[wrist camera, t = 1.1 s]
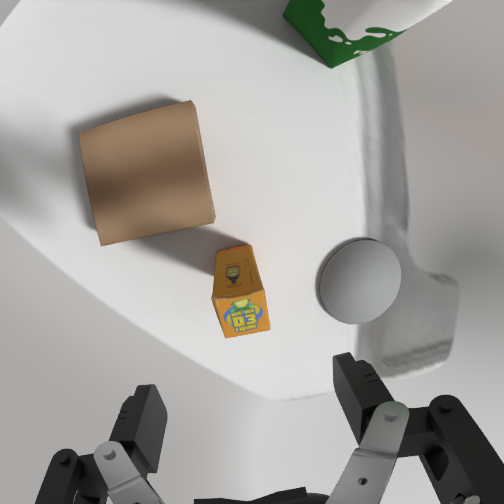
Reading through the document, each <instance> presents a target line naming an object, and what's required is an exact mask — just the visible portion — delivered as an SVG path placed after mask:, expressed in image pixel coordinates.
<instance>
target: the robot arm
mask: <svg viewBox="0 0 504 504" xmlns="http://www.w3.org/2000/svg"><path fill="white" fill-rule="evenodd" d="M333 383H334V389H335V392H336V395H337V397H338V399H339V402H340V404H341V406H342V409H343V411H344V413H345V415H346V418H347V420H348V422H349V424H350V427H351V429H352V431H353V434H354V436H355V438H356V441H357V443H358V445H360V446H359V447H358V449H357V448H356V449H355V450H354V452H353V454H352V455H351V457H350V459H349V461H348V464H347V465H346V467H345V470H344V471H343V474H342V475H341V477H340V479H339V481H338V483H337V484H336V486H335V488H334V490H333V492H332V493H331V495H330V496H328V495H325V494H318V493H307V492H306V488H305V487H301V488H296V489H290V490H285V491H279V492H275V493H273V494H270V495H267V496H264V497H261V498H258V499H255V500H252V501H240V500H231V499H224V498H212V499H194V504H380V502H381V499H382V497H383V494H384V492H385V489H386V486H387V484H388V482H389V479H390V477H391V474H392V471H393V469H394V466H395V463H396V460H397V458H399V457H408V456H417V455H418V456H419V458H420V460H421V462H422V464H423V466H424V468H425V470H426V473H427V474H428V477H429V479H430V481H431V483H432V485H433V488H434V489H435V492H436V494H437V496H438V499H439V501H440V503H441V504H504V464H503V462H502V460H501V459H500V458H499V456H498V454H497V453H496V451H495V450H494V448H493V447H492V445H491V444H490V442H489V441H488V440H487V438H486V437H485V435H484V434H483V432H482V431H481V429H480V428H479V427H478V425H477V424H476V422H475V421H474V420H473V418H472V417H471V416H470V414H469V413H468V411H467V410H466V408H465V407H464V406H463V404H462V403H461V402H460V400H459V399H458V398H456V397H454V396H451V395H440V396H438V397H436V398H434V399H433V400H432V401H431V402H430V405H429V406H428V407H420V408H407V407H406V406H405V405H404V404H403V403H400V402H396V401H395V400H394V399H393V397H392V396H391V394H390V393H389V391H388V389H387V388H386V386H385V385H384V383H383V382H382V380H380V377H379V376H378V374H376V371H375V370H374V368H373V367H372V365H371V364H369V363H367V362H366V361H364V360H360V361H355V360H354V358H353V356H352V355H351V353H350V352H347V353H343V354H339V355H335V356H333ZM166 423H167V410H166V407H165V405H164V403H163V401H162V399H161V396H160V394H159V392H158V390H157V388H156V386H155V385H154V384H149V385H138V386H137V388H136V391H135V394H134V396H129V397H128V398H127V400H126V401H125V402H124V403H123V405H122V407H121V410H120V413H119V415H118V419H117V420H116V423H115V425H114V428H113V431H112V433H111V436H110V439H109V441H108V442H104V443H102V444H100V445H99V446H98V447H97V448H96V449H95V452H94V453H93V454H88V455H82V456H78V455H77V454H76V452H75V451H74V450H72V449H62V450H60V451H58V452H57V453H56V454H55V455H54V456H53V458H52V460H51V462H50V465H49V467H48V470H47V473H46V475H45V477H44V480H43V483H42V486H41V488H40V491H39V494H38V496H37V499H36V502H35V504H106V501H107V497H108V496H109V497H110V499H111V500H112V502H113V504H165V503H164V502H163V501H162V499H161V498H160V496H159V495H158V494H157V493H156V491H155V490H154V488H153V487H152V486H151V484H150V483H149V481H148V480H147V474H148V473H157V469H158V464H159V458H160V453H161V448H162V443H163V438H164V433H165V428H166ZM76 491H77V493H76ZM75 494H76V496H75ZM74 497H75V500H74ZM73 501H74V503H73Z"/></svg>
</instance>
